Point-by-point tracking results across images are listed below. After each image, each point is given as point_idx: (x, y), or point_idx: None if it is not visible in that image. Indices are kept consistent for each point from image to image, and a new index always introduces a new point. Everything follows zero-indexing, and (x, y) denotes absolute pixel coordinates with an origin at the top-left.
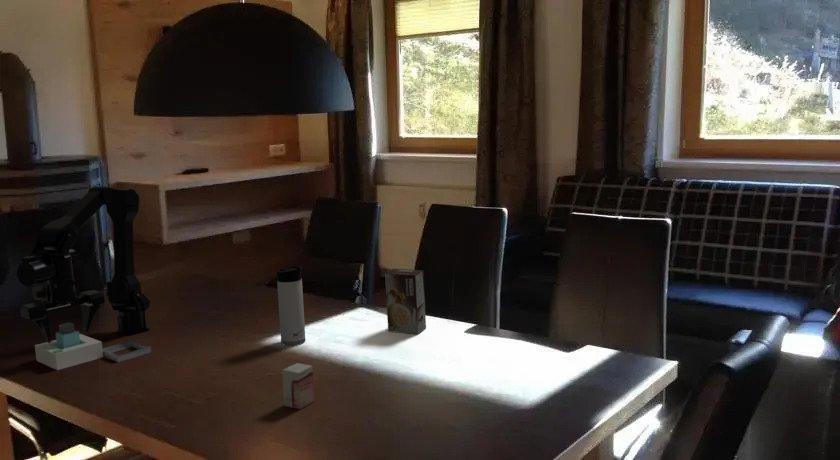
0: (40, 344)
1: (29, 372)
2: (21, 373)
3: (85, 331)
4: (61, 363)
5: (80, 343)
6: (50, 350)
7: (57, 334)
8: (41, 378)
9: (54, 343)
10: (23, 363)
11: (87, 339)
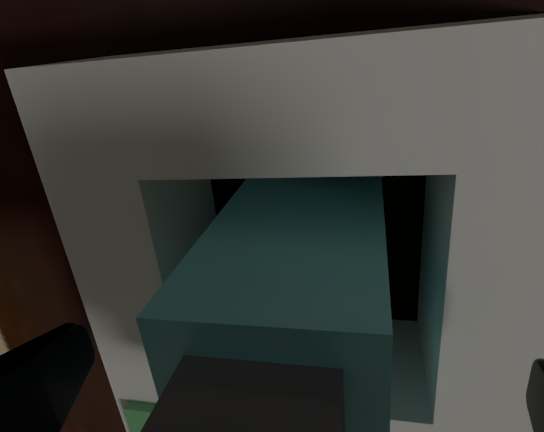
0: (59, 94)
1: (52, 263)
2: (13, 243)
3: (535, 418)
4: None
5: (437, 274)
6: (116, 352)
7: (156, 355)
8: (96, 388)
9: (192, 177)
10: (22, 38)
11: (504, 349)
